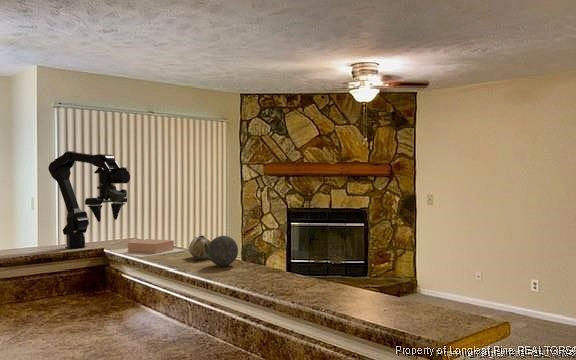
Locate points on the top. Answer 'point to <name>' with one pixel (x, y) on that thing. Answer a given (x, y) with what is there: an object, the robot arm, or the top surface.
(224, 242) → the decorative ball
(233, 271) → the top surface
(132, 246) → the tile
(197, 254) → the ceramic sculpture
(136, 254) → the mat
